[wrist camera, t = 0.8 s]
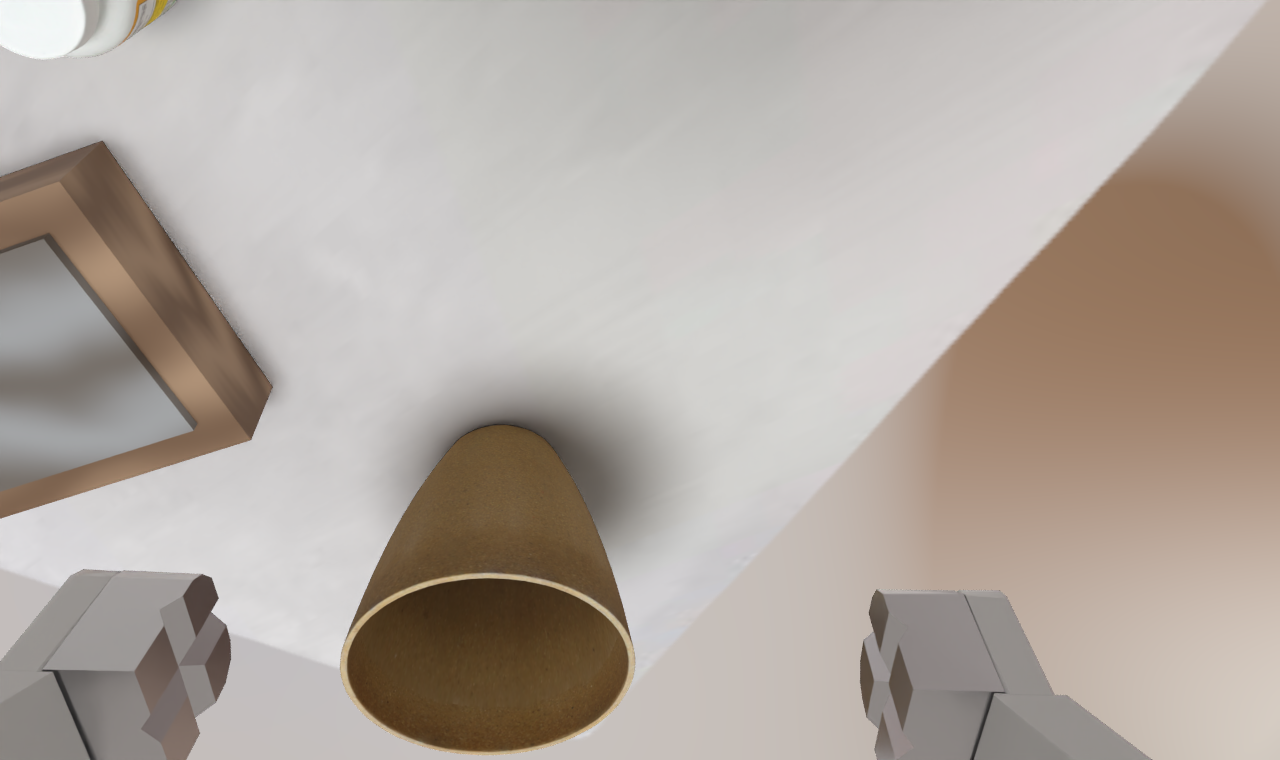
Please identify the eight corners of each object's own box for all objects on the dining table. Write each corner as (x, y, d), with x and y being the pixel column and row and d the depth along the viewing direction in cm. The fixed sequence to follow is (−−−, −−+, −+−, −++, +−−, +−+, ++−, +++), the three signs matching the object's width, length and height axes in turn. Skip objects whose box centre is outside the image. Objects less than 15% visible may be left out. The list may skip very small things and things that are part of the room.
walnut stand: (-178, 240, 46) (-256, 294, 42) (102, 140, 45) (53, 186, 40) (33, 463, 56) (-11, 527, 51) (272, 387, 54) (248, 447, 50)
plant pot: (378, 371, 54) (328, 571, 41) (625, 382, 56) (652, 576, 43) (387, 549, 63) (348, 762, 50) (602, 552, 65) (619, 758, 52)
